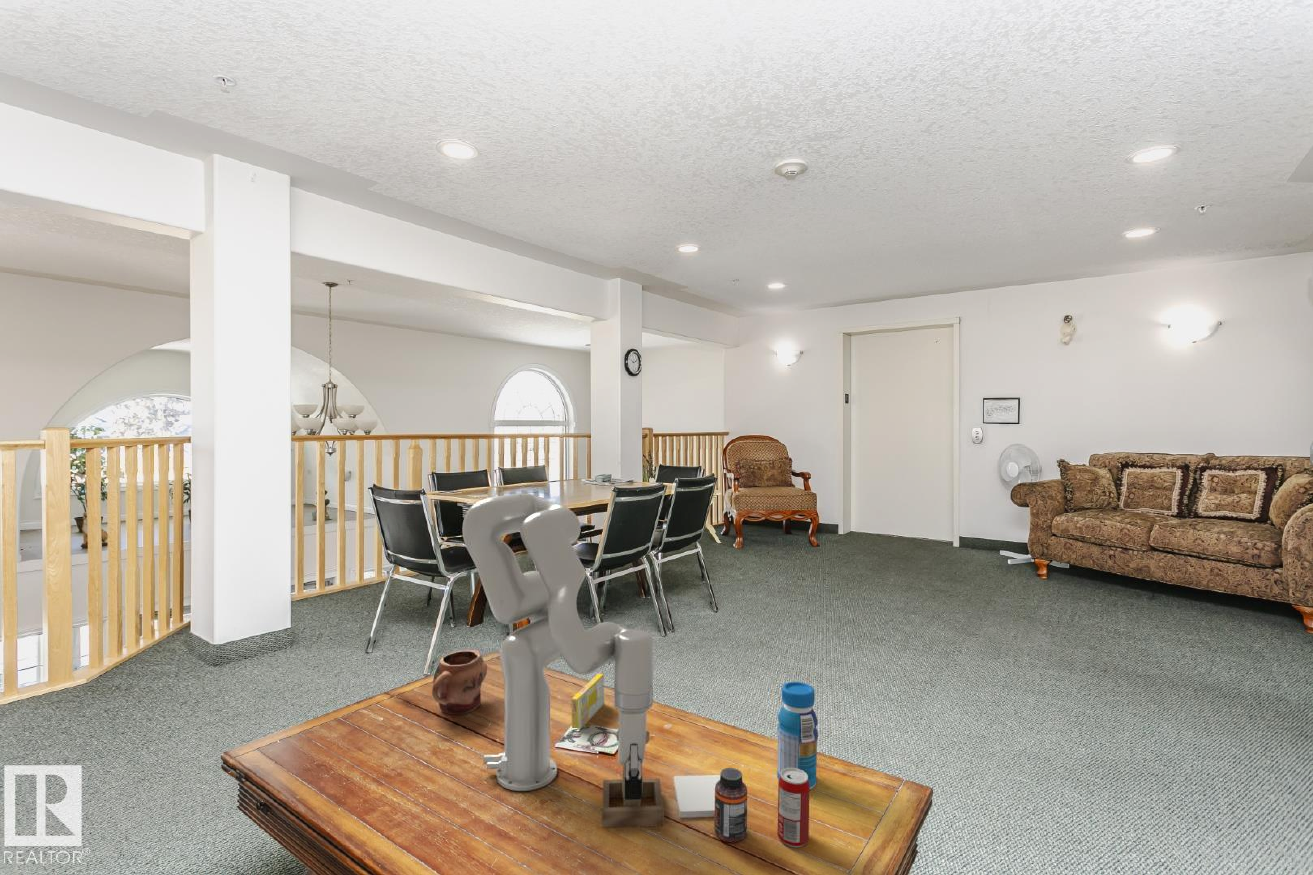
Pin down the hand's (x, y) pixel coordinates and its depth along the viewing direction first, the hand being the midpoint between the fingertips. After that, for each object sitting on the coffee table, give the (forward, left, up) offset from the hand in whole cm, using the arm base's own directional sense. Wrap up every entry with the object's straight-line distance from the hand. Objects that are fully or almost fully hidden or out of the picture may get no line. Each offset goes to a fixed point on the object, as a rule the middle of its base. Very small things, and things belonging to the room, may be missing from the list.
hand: (632, 783), depth 122 cm
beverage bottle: (+35, +8, -5) cm, 36 cm away
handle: (0, 0, -5) cm, 5 cm away
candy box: (-10, +39, -5) cm, 41 cm away
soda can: (+29, -10, -5) cm, 31 cm away
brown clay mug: (-44, +44, -5) cm, 62 cm away
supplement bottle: (+18, -8, -5) cm, 20 cm away
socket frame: (0, 0, -5) cm, 5 cm away
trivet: (+15, +3, -5) cm, 16 cm away
